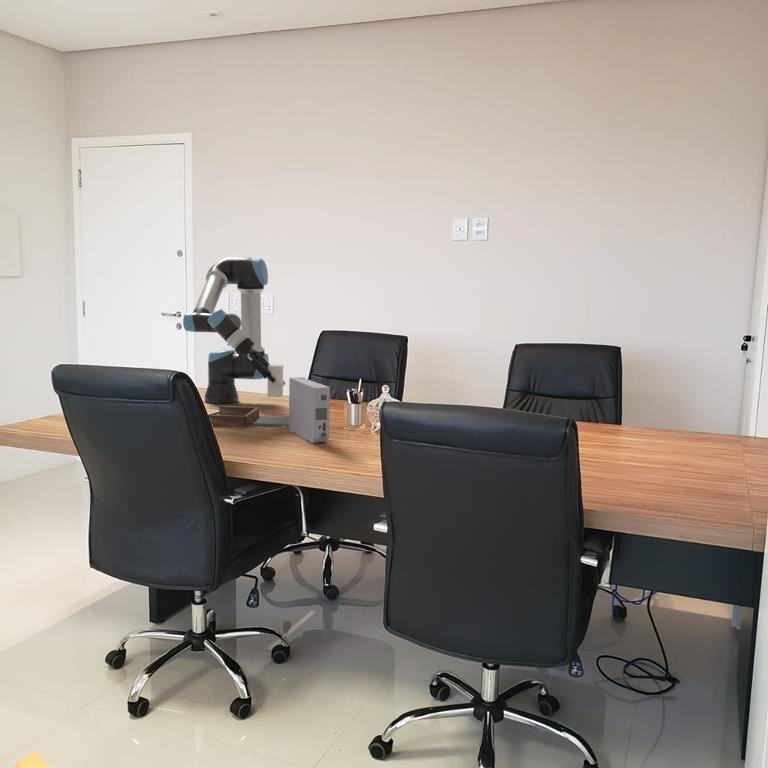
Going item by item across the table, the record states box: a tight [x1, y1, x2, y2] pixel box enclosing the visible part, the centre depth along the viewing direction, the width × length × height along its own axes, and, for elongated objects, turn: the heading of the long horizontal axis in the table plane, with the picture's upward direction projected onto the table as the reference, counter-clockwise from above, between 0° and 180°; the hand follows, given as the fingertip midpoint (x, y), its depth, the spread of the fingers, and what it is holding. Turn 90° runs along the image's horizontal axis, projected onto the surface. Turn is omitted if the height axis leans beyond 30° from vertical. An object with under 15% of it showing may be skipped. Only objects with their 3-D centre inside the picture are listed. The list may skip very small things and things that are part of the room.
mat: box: [252, 415, 289, 428], centre depth 303 cm, size 15×14×1 cm
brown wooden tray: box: [208, 405, 260, 428], centre depth 304 cm, size 21×16×4 cm
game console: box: [288, 376, 331, 444], centre depth 277 cm, size 6×27×20 cm, turn 25°
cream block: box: [267, 364, 284, 398], centre depth 301 cm, size 5×5×12 cm
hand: (282, 386), depth 301 cm, fingers closed on cream block, 5 cm apart
